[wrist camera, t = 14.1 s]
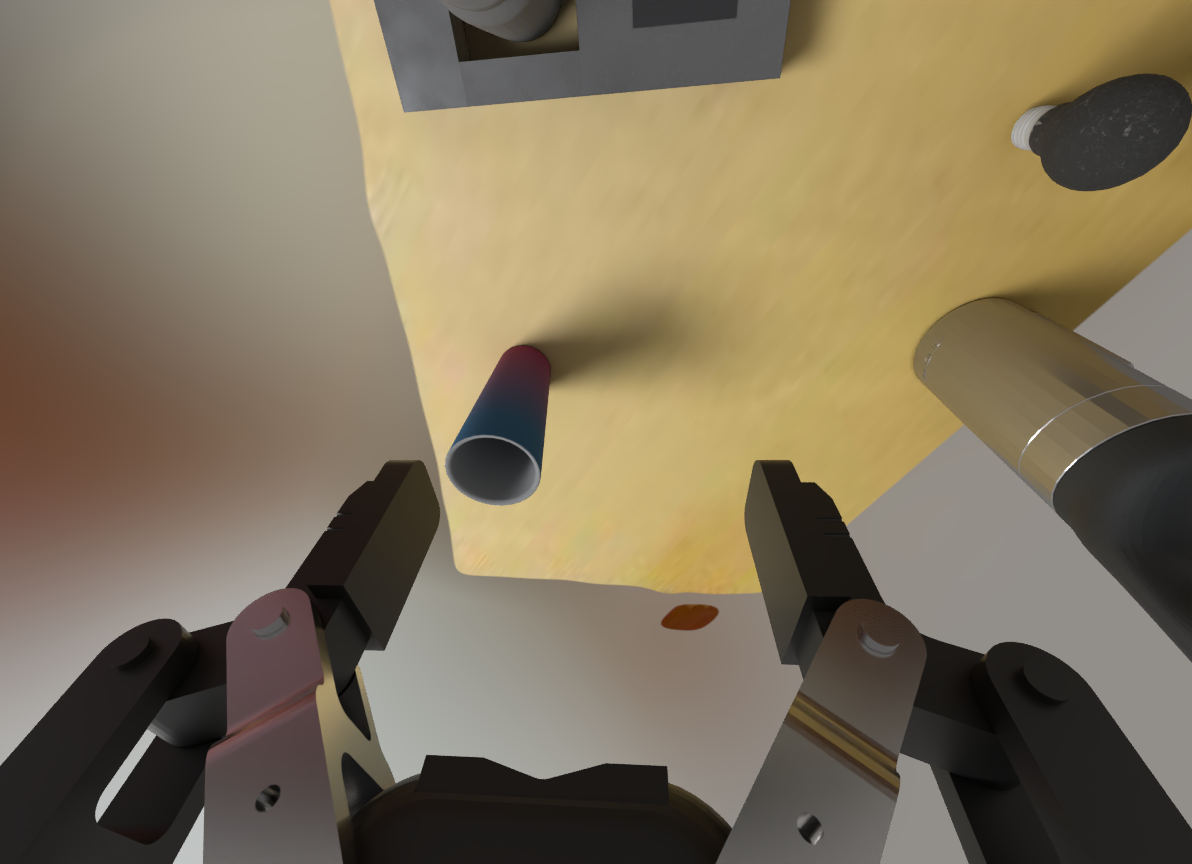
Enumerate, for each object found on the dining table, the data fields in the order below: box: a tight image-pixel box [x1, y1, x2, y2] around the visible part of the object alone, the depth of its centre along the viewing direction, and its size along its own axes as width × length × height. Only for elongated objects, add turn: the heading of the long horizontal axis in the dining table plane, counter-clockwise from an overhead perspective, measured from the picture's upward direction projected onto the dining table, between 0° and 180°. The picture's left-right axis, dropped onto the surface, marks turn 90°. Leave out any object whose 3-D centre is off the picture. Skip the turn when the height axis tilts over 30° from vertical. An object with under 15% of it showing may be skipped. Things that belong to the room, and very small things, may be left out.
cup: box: [445, 346, 551, 505], centre depth 39 cm, size 7×7×15 cm
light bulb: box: [1011, 74, 1192, 191], centre depth 28 cm, size 6×6×10 cm
